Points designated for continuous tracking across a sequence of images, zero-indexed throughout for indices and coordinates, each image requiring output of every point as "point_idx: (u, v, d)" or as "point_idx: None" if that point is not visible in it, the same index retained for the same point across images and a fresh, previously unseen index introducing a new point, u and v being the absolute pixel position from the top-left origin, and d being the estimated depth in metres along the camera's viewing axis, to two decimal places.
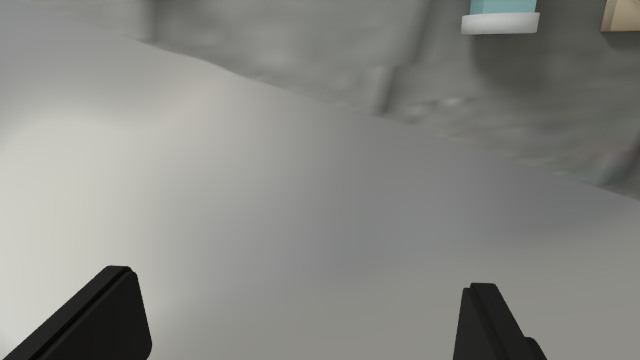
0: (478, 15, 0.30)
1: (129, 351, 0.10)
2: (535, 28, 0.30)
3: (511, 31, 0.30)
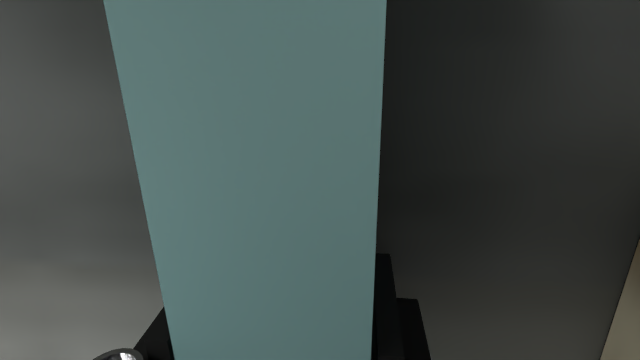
0: None
1: None
2: None
3: None
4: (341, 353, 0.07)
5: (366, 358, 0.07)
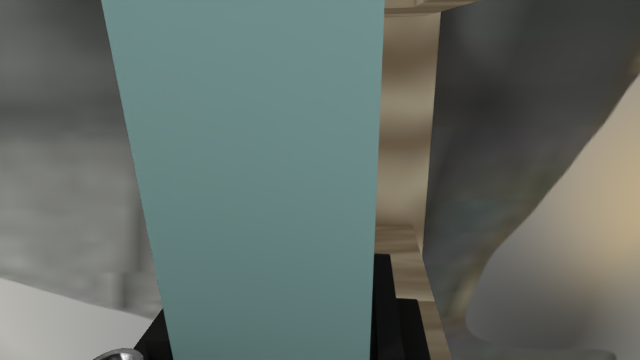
0: None
1: None
2: None
3: None
4: (339, 357, 0.07)
5: None
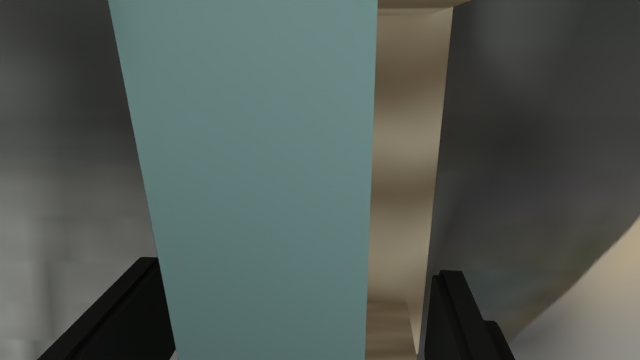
0: None
1: (162, 339, 0.11)
2: None
3: None
4: (335, 342, 0.07)
5: (360, 347, 0.07)
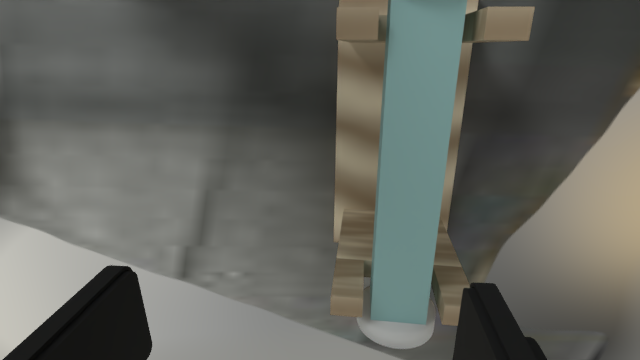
0: (366, 320, 0.28)
1: (129, 351, 0.10)
2: (428, 336, 0.28)
3: (399, 347, 0.27)
4: (437, 157, 0.23)
5: (445, 158, 0.23)
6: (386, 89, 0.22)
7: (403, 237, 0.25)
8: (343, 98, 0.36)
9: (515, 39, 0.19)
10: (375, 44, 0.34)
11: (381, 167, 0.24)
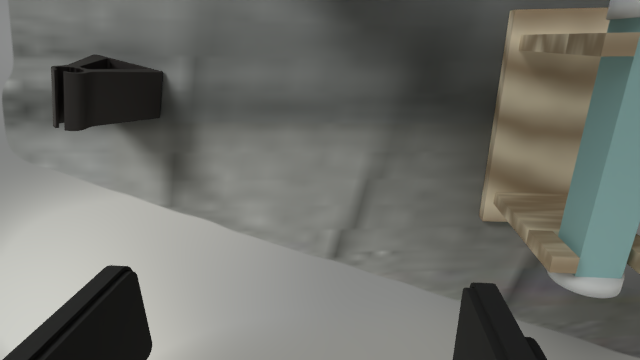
0: (571, 276, 0.35)
1: (129, 351, 0.10)
2: None
3: (602, 296, 0.34)
4: None
5: None
6: (624, 93, 0.29)
7: (616, 208, 0.32)
8: (507, 97, 0.43)
9: None
10: (541, 51, 0.41)
11: (608, 153, 0.30)
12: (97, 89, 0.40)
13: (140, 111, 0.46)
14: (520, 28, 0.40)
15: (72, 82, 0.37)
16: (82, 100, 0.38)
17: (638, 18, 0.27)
